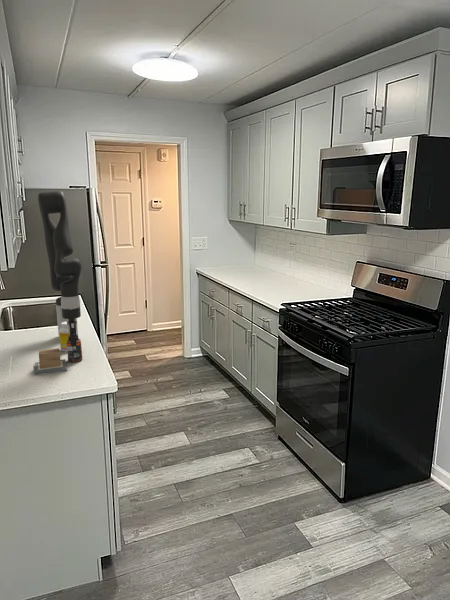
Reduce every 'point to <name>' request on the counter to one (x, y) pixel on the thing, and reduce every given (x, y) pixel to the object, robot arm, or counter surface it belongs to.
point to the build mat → (51, 369)
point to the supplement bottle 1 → (64, 336)
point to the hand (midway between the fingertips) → (73, 343)
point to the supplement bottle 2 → (74, 350)
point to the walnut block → (49, 358)
